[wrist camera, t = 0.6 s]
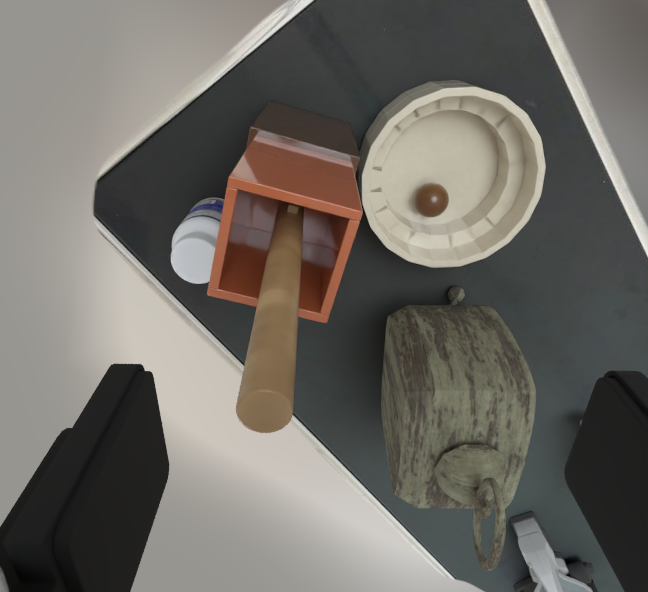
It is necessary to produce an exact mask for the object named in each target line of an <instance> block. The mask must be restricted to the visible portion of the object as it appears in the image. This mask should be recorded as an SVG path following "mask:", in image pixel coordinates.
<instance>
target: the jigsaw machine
mask: <svg viewBox="0 0 648 592" xmlns="http://www.w3.org/2000/svg"><path fill="white" fill-rule="evenodd" d="M510 522H511V525H512V527H513V530H514V532H515V533H516V535H517V538H518V544H519V548H520V550H521V552H522V554H523V557H524V559H525V561H526V564H527V567H528V570H529V572H530V574H531V577H529V578H527V579H525V580H523V581H521V582H519V583H517V584H516V585H515V586H514V588H515V591H516V592H598V591H597V589H596V587H595V585H594V582H593V580H592V579H593V577H592V575H591V574H592V573H593V572H594V568H593V566H592V564H590V563H583V562H582V561H578V562H574V563H571V564H568V565H567V564H566V562H565V560H564V558H563V556H562V555H561V553H559V552H553V548H552V545H551V542H550V540H549V537H548V535H547V534H546V532H545V530H544V529H543V528H542V526H541V525H540V523H539V521H538V519H537V517H536V516H535V514H534V513H533V512H528V513H525V514H522V515H519V516H516V517H513V518H511V519H510Z"/></svg>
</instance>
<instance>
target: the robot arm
mask: <svg viewBox="0 0 648 592" xmlns="http://www.w3.org/2000/svg"><path fill="white" fill-rule="evenodd" d="M168 474H169V461H168V455H167V449H166V444H165V439H164V433H163V427H162V422H161V417H160V411H159V405H158V400H157V394H156V389H155V383H154V377H153V374H152V372H150V371H145V370H144V368H143V366H142V365H141V364H113V365H111V366H110V367H109V369H108V370H107V372H106V374H105V375H104V377H103V379H102V380H101V382H100V383H99V386H98V387H97V388H96V390H95V392H94V393H93V395H92V397H91V398H90V400H89V402H88V403H87V405H86V406H85V408H84V410H83V411H82V413H81V415H80V416H79V418H78V419H77V421H76V423H75V424H74V426H73V428H67V429H65V430H63V431H62V432H61V433H60V435H59V436H58V437H57V438H56V440H55V442H54V443H53V445H52V446H51V448H50V449H49V451H48V453H47V454H46V456H45V457H44V459H43V461H42V462H41V464H40V465H39V467H38V468H37V470H36V472H35V473H34V475H33V476H32V478H31V480H30V481H29V483H28V484H27V486H26V487H25V489H24V491H23V492H22V494H21V495H20V497H19V498H18V500H17V502H16V503H15V505H14V507H13V508H12V509H11V511H10V513H9V514H8V516H7V517H6V519H5V521H4V522H3V524H2V525H1V527H0V592H130V591H131V588H132V585H133V582H134V578H135V576H136V573H137V570H138V567H139V564H140V561H141V558H142V555H143V552H144V549H145V546H146V542H147V540H148V536H149V534H150V531H151V528H152V525H153V521H154V519H155V515H156V513H157V509H158V507H159V504H160V501H161V498H162V494H163V492H164V489H165V486H166V483H167V479H168ZM565 479H566V483H567V485H568V487H569V489H570V491H571V492H572V494H573V496H574V498H575V500H576V502H577V504H578V506H579V507H580V509H581V511H582V513H583V515H584V517H585V519H586V520H587V522H588V524H589V526H590V528H591V530H592V532H593V533H594V535H595V537H596V539H597V541H598V543H599V545H600V546H601V548H602V550H603V552H604V554H605V556H606V558H607V560H608V561H609V563H610V565H611V567H612V569H613V571H614V573H615V574H616V576H617V578H618V580H619V582H620V584H621V586H622V587H623V589H624V591H625V592H648V378H647V377H646V376H645V375H644V374H642V373H641V372H638V371H609V372H607V373H606V374H605V375H604V377H603V378H599V379H598V380H597V382H596V384H595V386H594V389H593V392H592V395H591V397H590V400H589V403H588V406H587V408H586V411H585V414H584V417H583V419H582V422H581V425H580V427H579V430H578V433H577V436H576V438H575V441H574V444H573V447H572V449H571V452H570V455H569V457H568V460H567V463H566V466H565Z"/></svg>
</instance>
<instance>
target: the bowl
mask: <svg viewBox="0 0 648 592" xmlns="http://www.w3.org/2000/svg"><path fill="white" fill-rule="evenodd" d="M359 156H360V161H359V164H358V187H359V191H360V196H361V201H362V205H363V207H364V210H365V213H366V216H367V219H368V222H369V225H370V227H371V229H372V230H373V231H374V233H375V234H376V235H377V236H378V238H379V239H380V240H381V241H382V243H383V244H384V245H385V246H386V247H387V248H388V249H389V250H391V251H393V252H394V253H396V254H397V255H399V256H400V257H402V258H404V259H405V260H407V261H409V262H413V263H417V264H421V265H424V266H428V267H433V268H436V267H459V266H463V265H466V264H469V263H472V262H475V261H478V260H481V259H484V258H486V257H488V256H489V255H491V254H492V253H494V252H495V251H497V250H499V249H500V248H502V247H503V246H505V245H506V244H508V243H509V242H510V241H511V240H512V239H513V237H514V236H515V235H516V234H517V233H518V232H519V231H520V230H521V229H522V227H523V226H524V225H525V224H526V223H527V222H528V221H529V219H530V217H531V215H532V213H533V211H534V209H535V207H536V205H537V203H538V201H539V198H540V196H541V192H542V186H543V180H544V174H545V168H546V167H545V166H546V165H545V159H544V152H543V146H542V140H541V137H540V135H539V134H538V132H537V130H536V128H535V127H534V125H533V123H532V121H531V120H530V118H529V116H528V114H527V113H526V112H524V111H523V110H522V109H521V108H519V107H518V106H517V105H516V104H514V103H513V102H512V101H511V100H509V99H508V98H507V97H506V96H504V95H501V94H499V93H496V92H493V91H490V90H487V89H485V88H482V87H479V86H475V85H472V84H469V83H466V82H462V81H458V80H451V81H431V82H428V83H425V84H423V85H420V86H418V87H415V88H413V89H410V90H408V91H405V92H404V93H402V94H401V95H399V96H398V97H397V98H396V99H394V100H393V101H392V102H391V103H390V104H388V105H387V106H386V107H385V108H383V109H382V111H380V113H379V114H378V116H377V117H376V119H375V120H374V122H373V123H372V125H371V126H370V128H369V129H368V131H367V132H366V134H365V137H364V140H363V143H362V146H361V150H360V153H359ZM427 183H438V184H440V185H442V186H443V187H444V188H445V189H446V191H447V193H448V196H449V203H448V206H447V208H446V210H445V211H444V212H443V213H442V214H441V215H439V216H436V217H425V216H423V215H421V214H420V213H419V212H418V211H417V210H416V208H415V205H414V196H415V193H416V192H417V190H418V189H419V188H420V187H421V186H422V185H424V184H427Z"/></svg>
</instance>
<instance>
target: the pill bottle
mask: <svg viewBox="0 0 648 592" xmlns="http://www.w3.org/2000/svg"><path fill="white" fill-rule="evenodd" d="M223 205H224V199H220V198H207V199H204V200H201V201H200V202H198V203H197V204H196V205H195V206H194V207H193V208H192V209H191V211H190V212H189V213H188V215H187V216H186V218H185V219H184V220H183V222H182V223H181V224H180V225H179V227H178V228H177V230H176V231H175V233H174V236H173V239H172V253H171V264H172V267H173V269H174V270H175V272H176V273H177V274H178V275H179V276H180V277H181V278H182V279H184V280H186V281H188V282H191V283H196V284H202V283H207V282H209V281H210V275H211V270H212V264H213V259H214V254H215V248H216V243H217V237H218V232H219V226H220V221H221V216H222V210H223Z"/></svg>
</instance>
